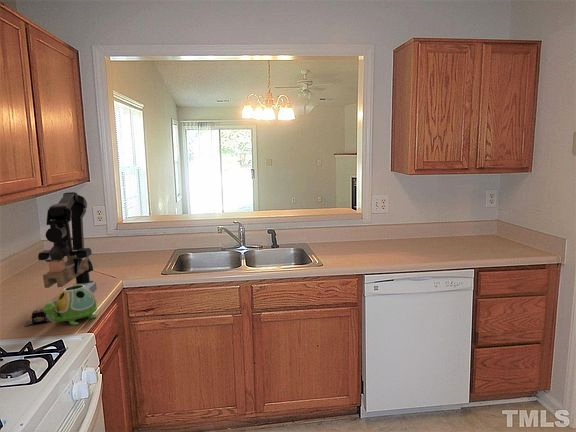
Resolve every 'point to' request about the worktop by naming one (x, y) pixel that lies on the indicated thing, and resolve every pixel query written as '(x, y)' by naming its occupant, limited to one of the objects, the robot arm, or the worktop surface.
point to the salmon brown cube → (57, 265)
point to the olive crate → (71, 257)
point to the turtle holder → (72, 305)
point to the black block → (37, 321)
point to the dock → (88, 285)
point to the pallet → (64, 274)
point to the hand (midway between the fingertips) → (67, 274)
